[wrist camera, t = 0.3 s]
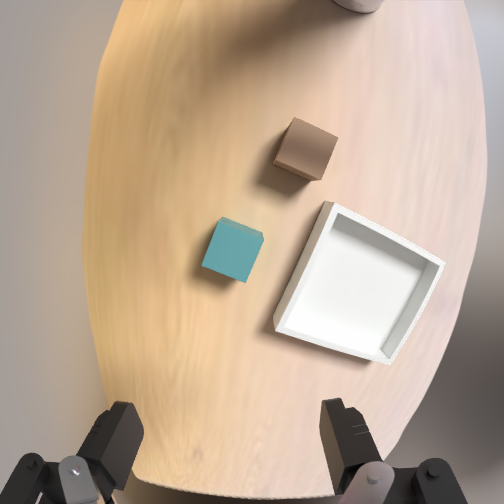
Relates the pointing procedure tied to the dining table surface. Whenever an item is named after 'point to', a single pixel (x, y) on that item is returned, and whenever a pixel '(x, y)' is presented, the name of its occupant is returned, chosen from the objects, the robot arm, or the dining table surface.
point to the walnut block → (305, 150)
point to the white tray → (357, 287)
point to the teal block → (233, 249)
